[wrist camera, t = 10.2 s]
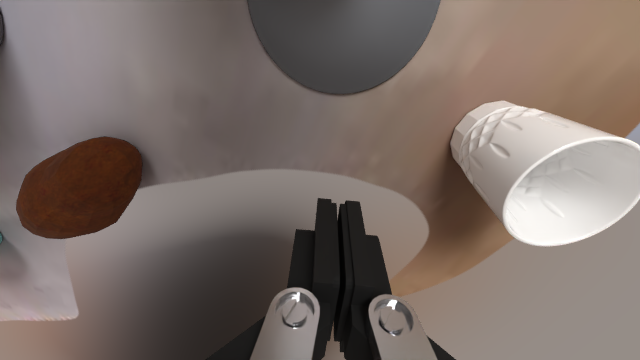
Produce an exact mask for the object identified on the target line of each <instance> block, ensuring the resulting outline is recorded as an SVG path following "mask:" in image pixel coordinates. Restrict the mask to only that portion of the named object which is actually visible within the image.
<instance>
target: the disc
mask: <svg viewBox="0 0 640 360" xmlns="http://www.w3.org/2000/svg"><path fill="white" fill-rule="evenodd" d="M247 1H248V5H249V10H250V15H251V18H252V21H253V24H254V27H255V30H256V32H257V34H258V36H259V39H260V41H261V42H262V44H263V46H264V48H265V49H266V51H267V53H268V54H269V55H270V57H271V58H272V59H273V60H274V62H275V63H276V64H277V65H278V66H279V67H280V68H281V69H282V70H283V71H284V72H285V73H286V74H288V75H289V76H290V77H291V78H293V79H294V80H296V81H297V82H299V83H301V84H303V85H305V86H307V87H309V88H311V89H314V90H318V91H321V92H326V93H332V94H347V93H355V92H359V91H363V90H367V89H369V88H372V87H374V86H377V85H379V84H380V83H382V82H384V81H386V80H387V79H389V78H390V77H392V76H393V75H395V74H396V73H397V72H398V71H399V70H400V69H402V68H403V67H404V66H405V65H406V64H407V63H408V62H409V61H410V59H411V58H412V57H413V56H414V55H415V53H416V52H417V51H418V49H419V48H420V47H421V45H422V44H423V42H424V40H425V38H426V37H427V35H428V33H429V31H430V29H431V26H432V24H433V22H434V20H435V17H436V14H437V11H438V7H439V4H440V0H247Z"/></svg>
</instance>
